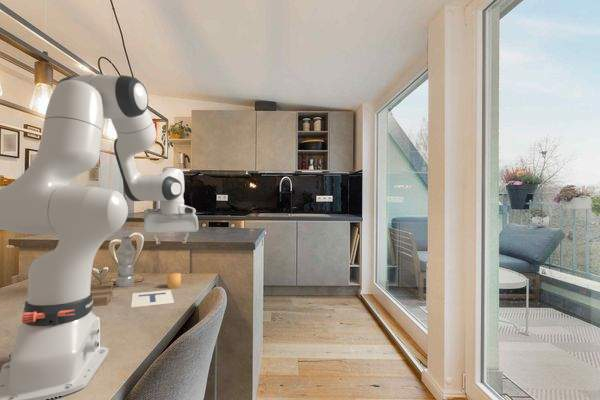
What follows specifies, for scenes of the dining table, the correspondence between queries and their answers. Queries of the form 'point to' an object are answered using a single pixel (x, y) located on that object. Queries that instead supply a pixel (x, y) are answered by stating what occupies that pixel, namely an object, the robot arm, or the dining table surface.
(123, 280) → the plastic bottle
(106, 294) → the walnut block
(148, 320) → the dining table surface
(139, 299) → the letter card
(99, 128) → the robot arm
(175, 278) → the orange cylinder
